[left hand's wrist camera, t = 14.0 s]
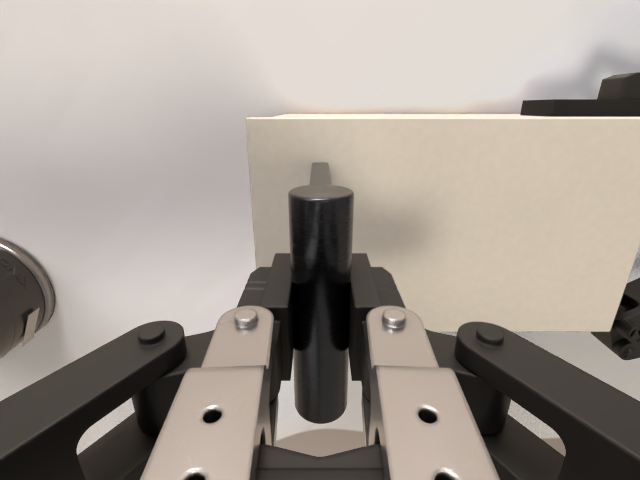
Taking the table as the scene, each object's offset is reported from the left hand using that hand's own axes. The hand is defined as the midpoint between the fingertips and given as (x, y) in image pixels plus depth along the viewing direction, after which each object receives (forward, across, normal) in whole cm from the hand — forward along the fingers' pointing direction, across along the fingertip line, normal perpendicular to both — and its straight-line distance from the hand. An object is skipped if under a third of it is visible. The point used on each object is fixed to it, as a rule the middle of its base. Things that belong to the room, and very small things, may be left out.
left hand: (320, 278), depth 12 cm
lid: (+5, -6, 0) cm, 8 cm away
